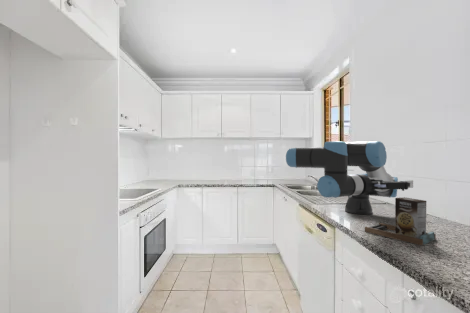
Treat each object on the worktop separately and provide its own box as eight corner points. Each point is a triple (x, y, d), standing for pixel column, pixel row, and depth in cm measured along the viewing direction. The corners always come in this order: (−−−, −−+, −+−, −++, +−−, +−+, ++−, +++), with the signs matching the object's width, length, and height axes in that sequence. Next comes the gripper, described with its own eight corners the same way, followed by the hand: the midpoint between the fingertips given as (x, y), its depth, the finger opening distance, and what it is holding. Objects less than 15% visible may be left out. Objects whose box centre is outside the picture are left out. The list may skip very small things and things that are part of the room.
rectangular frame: (380, 226, 123) (380, 220, 123) (435, 239, 104) (435, 231, 104) (364, 231, 115) (364, 224, 115) (421, 245, 97) (421, 237, 97)
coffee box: (394, 235, 109) (394, 197, 109) (404, 234, 111) (404, 196, 111) (416, 242, 100) (416, 201, 101) (427, 240, 103) (427, 200, 103)
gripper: (330, 190, 105) (367, 188, 114) (388, 200, 82) (428, 196, 91) (330, 172, 105) (366, 171, 114) (388, 177, 82) (428, 174, 91)
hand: (394, 182), depth 102 cm, fingers open, 13 cm apart
